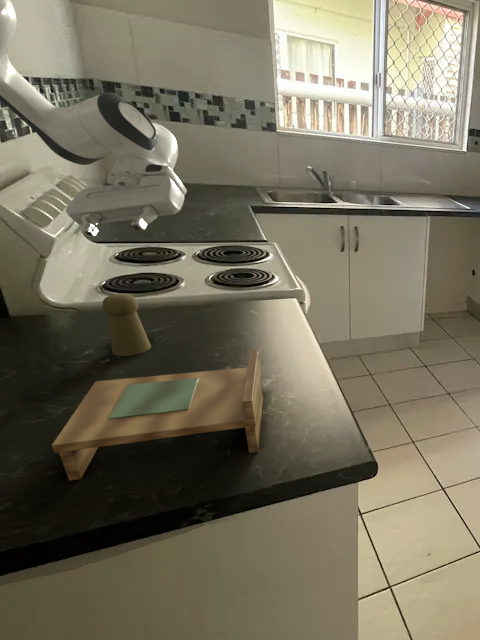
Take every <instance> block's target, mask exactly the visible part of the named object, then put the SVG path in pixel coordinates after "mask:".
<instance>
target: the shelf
mask: <svg viewBox="0 0 480 640" xmlns="http://www.w3.org/2000/svg"><path fill="white" fill-rule="evenodd" d="M259 354H260V353H259V350H258V349H256V350H249V354H248V360H247V367H238V368H225V369H214V370H204V371H193V372H182V373H172V374H161V375H160V374H159V375H151V376H149V375H148V376H139V377H128V378H119V379H108V380H107V379H106V380H96V381H94V383H93V384H92V386H91V387H90V389H89V390H88V391H87V393H86V395H85V396H84V398H83V399H82V401H81V402H80V404H79V405H78V406H77V408H76V409H75V411H74V412H73V414H72V415H71V417H70V418H69V419H68V420H67V422H66V423H65V425H64V426H63V428H62V430H61V431H60V433H59V434H58V435H57V437H56V438H55V440H54V441H53V442H52V444H51V448H52V450H53V453H54V454H59V456H60V459H61V462H62V465H63V467H64V470H65V473H66V476H67V478H68V481H77V480H81V479H82V477H83V476H84V474H85V472H86V470H87V469H88V466H89V465H90V463H91V462H92V459H93V457H94V456H95V454H96V452H97V450H98V448H101V447H109V446H117V445H124V444H125V445H126V444H133V443H138V442H146V441H147V442H148V441H154V440H155V441H156V440H161V439H168V438H169V439H170V438H177V437H183V436H191V435H198V434H199V435H200V434H205V433H213V432H221V431H227V430H235V429H243V428H244V430H245V435H246V441H247V448H248V453H250V454H252V453H258V452H259V451H260V450H259V449H260V439H261V438H260V437H261V425H262V412H263V402H264V401H263V400H264V397H263V390H262V382H261V375H262V369H261V362H260V356H259Z"/></svg>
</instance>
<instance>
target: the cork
mask: <svg viewBox="0 0 480 640" xmlns="http://www.w3.org/2000/svg"><path fill="white" fill-rule="evenodd" d="M101 306H102V309H103V311H104V312H105V313H106V314H107V315H108V319H109V320H108V321H109V330H110V342H111V353H112V354H113V355H115V356H117V357H118V356H119V357H129V356H130V357H131V356H136V355H140V354H143V353H146V352H147V351H149V350H150V349H151V348H152V345H151V342H150V340H149V338H148V336H147V333H146V331H145V329H144V326H143V324H142V321H141V319H140V317H139V314H138V308H139V302H138V300H137V298H136V297H135V296H133V295H132V294H129V293H118V294H117V293H116V294H111V295H108V296H106V297H104V298H103V300H102V305H101Z"/></svg>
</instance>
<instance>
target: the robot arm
mask: <svg viewBox="0 0 480 640" xmlns="http://www.w3.org/2000/svg"><path fill="white" fill-rule="evenodd" d="M17 29H18V17H17V13H16V9H15V7H14V5H13V2H12V0H0V102H1V103H2V104H3V105H4V106H6V107H7V108H8V109H9V110H10V111H11V112H13V114H15V115H16V116H17V117H18V118H19V119H20V120H22V121H23V123H25V124H26V125H27V126H29V127H30V128H31V129H32V131H34V133H36V134H37V135H38V137H39V138H40V139H41V140H42V141H43V142H44V144H45V145H46V146H47V148H49V149H50V150H51V152H53V153H55V154H56V155H57V156H58V157H60V158H62V159H64V160H65V161H68V162H70V163H73V164H75V165H80V166H89V165H91V164H94V163H96V162H98V161H100V160H102V159H103V158H105V157H107V156H111V155H112V154H114V155H115V156H116V161H115V163H114V165H113V167H112V168H111V170H110V171H109V173H108V175H107V178H106V181H107V185H101V186H99V185H98V186H91V187H87V188H84V189H81V191H80V192H78V193H77V194H76V195H75V196H74V198H73V199H72V200H71V201H70V202H69V203H68V205H67V207H66V208H65V213H66V214H67V215H68V217H69V218H70V219H71V220H73V221H74V223H76V224H77V225H79V226H82V227H81V229H80V232H81V233H82V234H83V235H84V236H85V237H96V236H97V234H98V232H99V231H100V230H99V229H98V228H97V227H95V226H98V224H106V223H115V222H123V221H130V220H131V222H130V224H131V227H132V228H134V230H135V231H145V230H147V228H148V225H150V224H151V223H152V222H154V221H155V220H156V219H157V218H158V217H164V216H173V215H175V214H177V213H179V212H180V211H181V209H182V208H183V205H184V202H185V198H186V197H185V195H186V194H187V192H188V191H187V188H186V187H185V185H184V184H183V182H182V181H181V180H180V178H179V177H178V175H177V174H176V173H175V172H174V169H175V166H176V164H177V160H178V157H179V146H178V141H177V139H176V137H175V136H174V134H173V133H172V132H171V131H170V130H169V129H168V128H166V127H165V126H163V125H161V124H159V123H157V122H153V121H151V120H150V119H149V117H148V116H147V115H146V113H144V112H143V111H142V110H141V109H140V108H139V107H138V106H136V105H135V104H133V103H132V102H131V101H129V100H128V99H126V98H124V97H122V96H120V95H117V94H115V93H112V92H103V93H101V94H98V95H95V96H92V97H90V98H88V99H84V100H82V101H81V102H78V103H76V104H73V105H71V106H69V107H65V108H64V107H60V106H56V105H54V104H52V103H51V102H50V101H49V100H48V99H47V98H46V97H45V96H44V95H42V93H41V92H40V91H38V90H37V89H36V88H35V87H34V86H33V85H32V83H30V82H29V81H28V80H27V79H26V78H25V77H23V75H21V74H20V72H18V70H17V69H16V68H15V67H14V66H13V64H12V62H11V61H10V59H9V48H10V46H11V44H12V42H13V41H14V38H15V35H16V33H17Z"/></svg>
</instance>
